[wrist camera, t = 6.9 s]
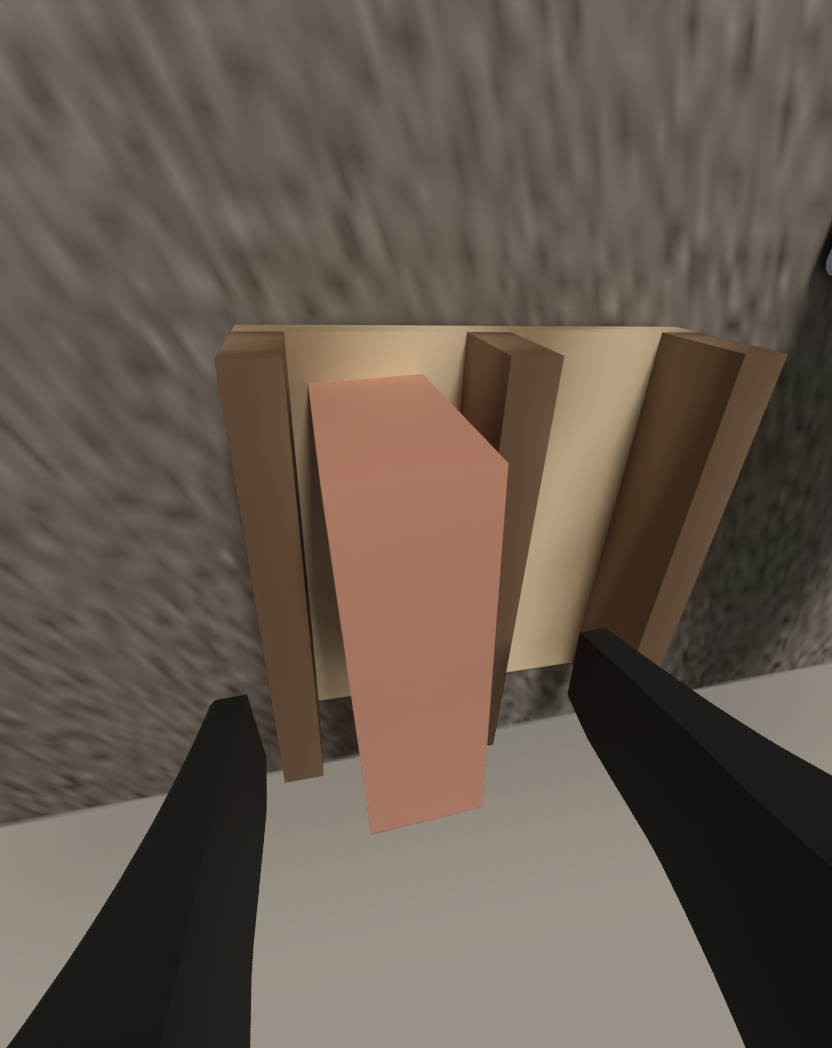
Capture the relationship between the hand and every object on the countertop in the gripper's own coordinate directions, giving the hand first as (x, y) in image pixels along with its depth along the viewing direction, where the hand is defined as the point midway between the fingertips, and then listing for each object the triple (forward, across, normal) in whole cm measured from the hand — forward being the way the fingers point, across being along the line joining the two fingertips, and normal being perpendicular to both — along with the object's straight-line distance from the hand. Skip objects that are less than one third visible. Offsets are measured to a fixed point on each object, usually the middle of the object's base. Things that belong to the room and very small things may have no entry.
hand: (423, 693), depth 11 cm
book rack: (+7, -3, 0) cm, 7 cm away
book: (+6, 0, 0) cm, 6 cm away
